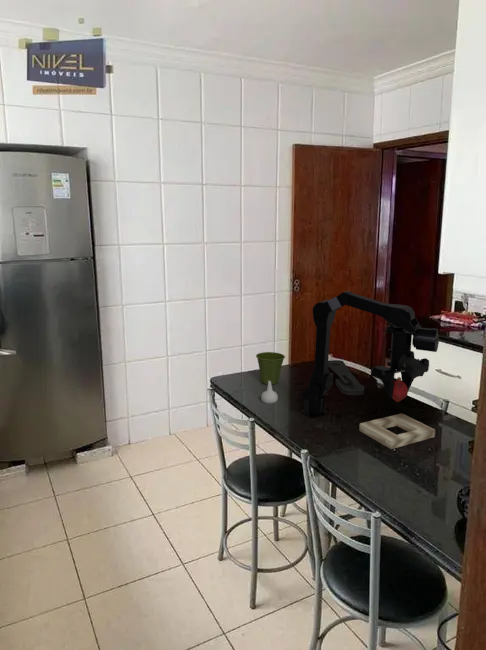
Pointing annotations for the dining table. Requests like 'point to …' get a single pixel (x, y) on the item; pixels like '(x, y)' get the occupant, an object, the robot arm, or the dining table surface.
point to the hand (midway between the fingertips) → (397, 395)
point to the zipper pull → (346, 379)
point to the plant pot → (270, 366)
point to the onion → (399, 390)
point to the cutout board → (391, 440)
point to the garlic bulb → (269, 395)
